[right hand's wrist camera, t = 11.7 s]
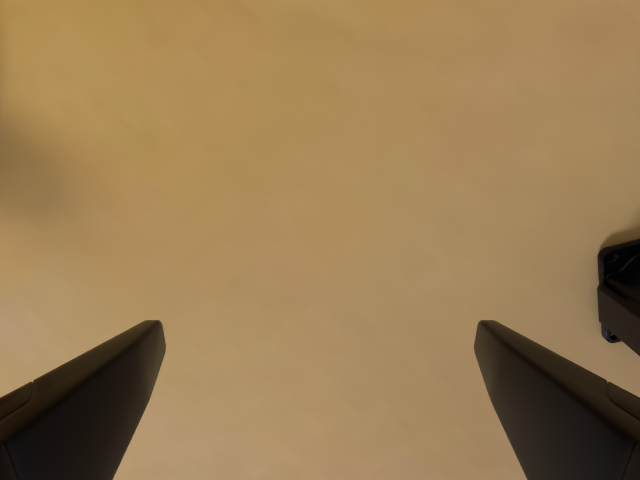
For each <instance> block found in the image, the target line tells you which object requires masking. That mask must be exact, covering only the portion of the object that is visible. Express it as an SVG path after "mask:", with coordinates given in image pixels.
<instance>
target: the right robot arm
mask: <svg viewBox="0 0 640 480" xmlns="http://www.w3.org/2000/svg"><path fill="white" fill-rule="evenodd" d="M610 254H611V256H610V258H608V259H607V257H608V255H610ZM598 273H599V285H598V288H597V293H598V310H599V321H600V322H601V327H602V336H603V338H605V339H606V340H607V341H608V342H610V343H616V342H620V341H623V342H624V343H625V344H626V345H627V346H629V347H630V348H631V349H632V350H633V351H634V352H636V353H637V354H638V355H639V356H640V239H638V240H634V241H630V242H626V243H622V244H618V245H614V246H611V247H607V248H604V249H602V250H601V251H600V252H599V254H598ZM612 334H613V335H612ZM165 350H166V344H165V338H164V332H163V326H162V323H161V322H160V321H159V320H146V321H143V322H142V323H140V324H138V325H136V326H134V327H132V328H130V329H128V330H127V331H125V332H123V333H121V334H119V335H117V336H115V337H114V338H112V339H110V340H108V341H106V342H104V343H102V344H100V345H99V346H97V347H95V348H93V349H91V350H89V351H87V352H86V353H84V354H82V355H80V356H78V357H76V358H74V359H72V360H71V361H69V362H67V363H65V364H63V365H61V366H59V367H57V368H56V369H54V370H52V371H50V372H48V373H46V374H44V375H43V376H41V377H39V378H37V379H35V380H34V381H33V382H29V383H27V384H26V385H24V386H22V387H20V388H18V389H16V390H14V391H12V392H10V393H9V394H7V395H5V396H3V397H1V398H0V480H113V478H114V475H115V473H116V471H117V469H118V467H119V465H120V462H121V460H122V458H123V456H124V454H125V452H126V450H127V447H128V445H129V443H130V441H131V439H132V437H133V435H134V432H135V430H136V428H137V426H138V424H139V422H140V419H141V417H142V415H143V413H144V411H145V409H146V406H147V404H148V402H149V399H150V397H151V394H152V391H153V388H154V385H155V382H156V379H157V376H158V373H159V370H160V367H161V364H162V361H163V358H164V355H165ZM474 350H475V355H476V358H477V361H478V364H479V367H480V370H481V373H482V376H483V379H484V382H485V385H486V388H487V391H488V394H489V397H490V399H491V402H492V404H493V406H494V409H495V411H496V413H497V415H498V417H499V419H500V422H501V424H502V426H503V428H504V430H505V432H506V435H507V437H508V439H509V441H510V443H511V445H512V447H513V450H514V452H515V454H516V456H517V458H518V460H519V462H520V465H521V467H522V469H523V471H524V473H525V475H526V478H527V480H640V398H639V397H637V396H635V395H633V394H631V393H630V392H628V391H626V390H624V389H622V388H620V387H618V386H616V385H614V384H613V383H611V382H607V381H606V380H605V379H603V378H601V377H599V376H598V375H596V374H594V373H592V372H590V371H588V370H586V369H584V368H583V367H581V366H579V365H577V364H575V363H573V362H571V361H569V360H568V359H566V358H564V357H562V356H560V355H558V354H556V353H554V352H553V351H551V350H549V349H547V348H545V347H543V346H541V345H540V344H538V343H536V342H534V341H532V340H530V339H528V338H526V337H525V336H523V335H521V334H519V333H517V332H515V331H513V330H511V329H510V328H508V327H506V326H504V325H502V324H500V323H498V322H497V321H494V320H481V321H480V322H479V323H478V326H477V332H476V338H475V344H474Z"/></svg>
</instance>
